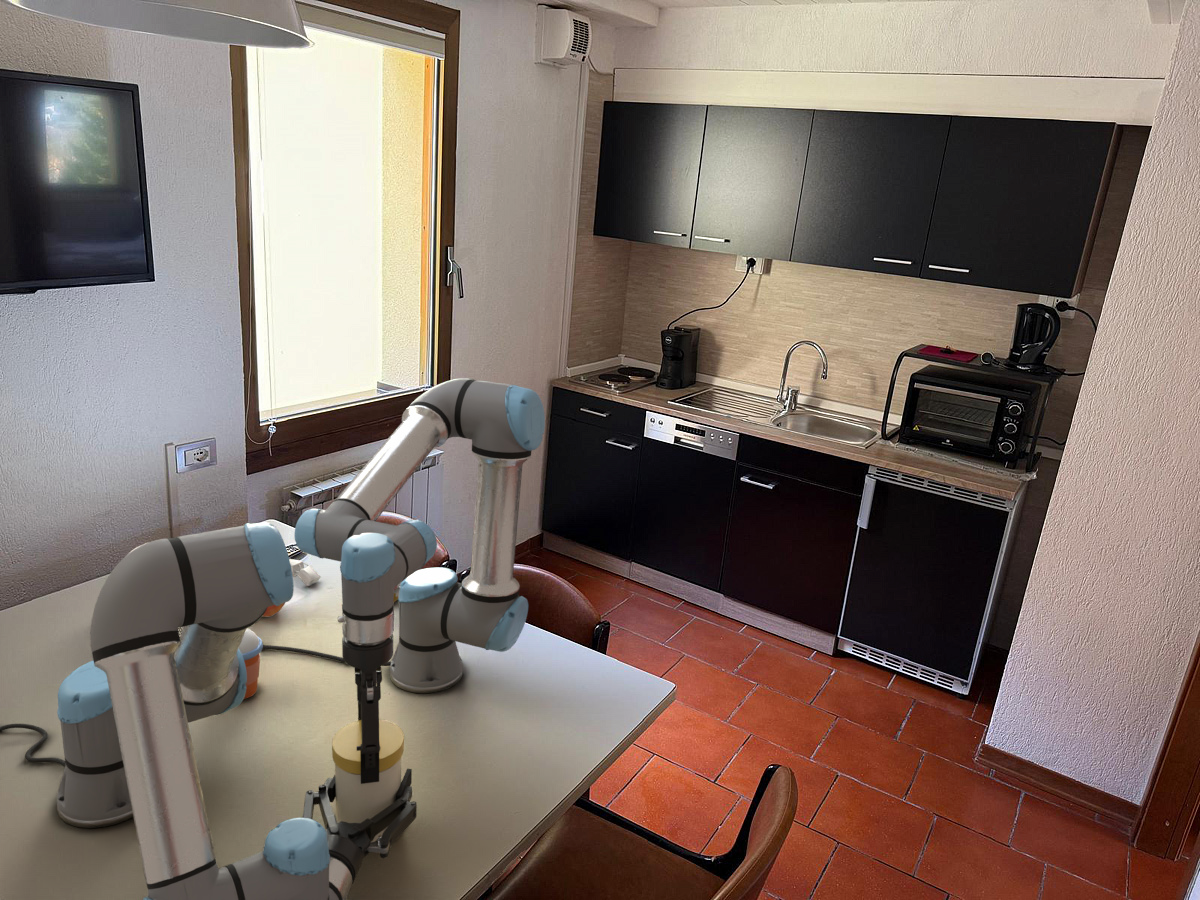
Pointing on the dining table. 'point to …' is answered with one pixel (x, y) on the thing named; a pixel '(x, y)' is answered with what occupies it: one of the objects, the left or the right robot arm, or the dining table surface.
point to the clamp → (304, 572)
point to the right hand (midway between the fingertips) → (368, 757)
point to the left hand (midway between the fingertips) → (376, 772)
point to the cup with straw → (251, 660)
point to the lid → (352, 737)
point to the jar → (365, 794)
